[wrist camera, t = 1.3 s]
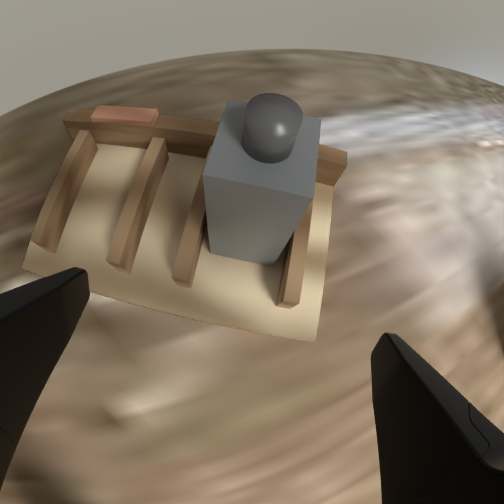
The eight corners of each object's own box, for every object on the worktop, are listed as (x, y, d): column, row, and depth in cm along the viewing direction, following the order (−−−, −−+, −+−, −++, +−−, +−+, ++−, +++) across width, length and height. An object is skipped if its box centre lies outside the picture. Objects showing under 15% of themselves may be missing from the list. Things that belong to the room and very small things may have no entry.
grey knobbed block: (272, 266, 22) (328, 172, 10) (210, 253, 22) (200, 144, 10) (281, 210, 23) (332, 90, 11) (224, 198, 23) (230, 68, 11)
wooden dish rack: (311, 342, 21) (334, 340, 17) (26, 270, 21) (-5, 254, 16) (331, 177, 26) (349, 147, 21) (83, 135, 25) (67, 104, 21)
